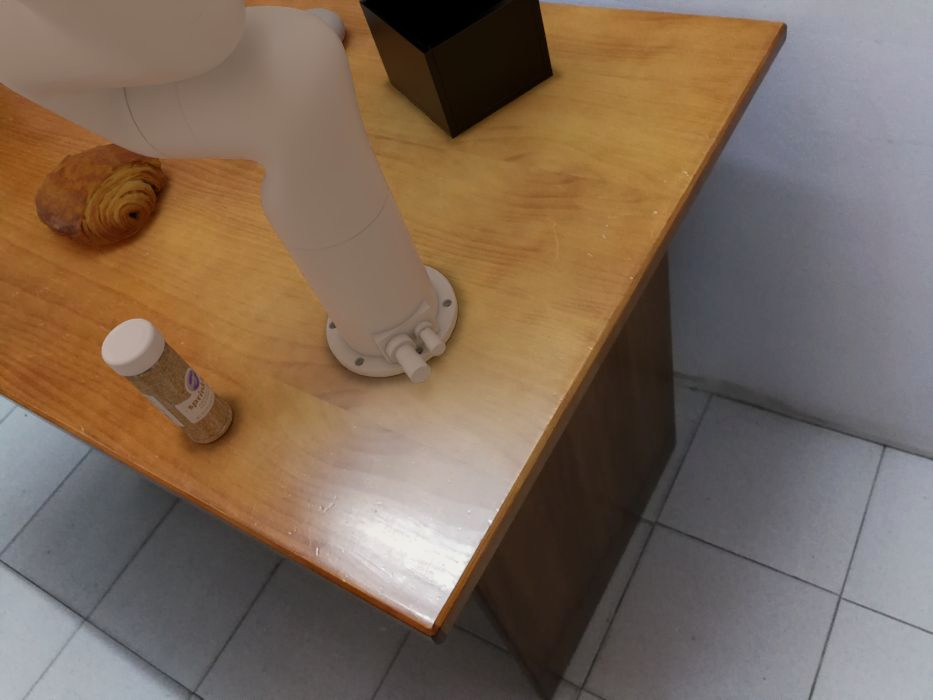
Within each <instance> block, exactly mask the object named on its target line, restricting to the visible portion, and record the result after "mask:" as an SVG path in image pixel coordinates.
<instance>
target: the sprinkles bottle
mask: <svg viewBox="0 0 933 700" xmlns="http://www.w3.org/2000/svg"><path fill="white" fill-rule="evenodd" d="M100 351H101V357H102V359H103V361H104V362H105V364H107V365H108V366H109V368H111V369H112V370H113V371H114V372H115V373H116V374H117V375H118V376H119V375H120V376H121V377H123V378H125V379H126V380H128V381H129V382H130V384H132V385H133V387H135V388H136V389H137V390H138V391H139V392H140V394H142V396H143V397H145V398H146V399H147V400H148V401H149V402H150V403H151V405H153V406H154V407H155V408H156V409H158V411H160V412H161V413H162V414H163V415H164V416H166V417H167V419H169V420H170V421H171V422H172V423H174V424H175V425H176V426H178V427H179V428H180V429H181V430H182V431H183V432H184V433H185V434H186V435H187V437H188V438H189V439H190V440H191V441H192V442H193V443H197V444H210V443H212V442H215V441H216V440H218V439H219V438H220V437H221V438H222V436H223V435H225V433H226V432H227V430H229V427H230V425H231V423H232V421H233V410H232V408H231V406H230V405H229V403H228V402H226V401H224V400H223V399H222V398H221V397H220V396H219V395H218V393H216V392H215V391H214V388H212V387H211V386H210V385H209V383H208V382H207V381H206V380H205V379H204V378H203V377H202V376H201V375H200V374H199V373H198V372H197V371H196V370H195V369H194V368H193V367H191V366H190V365H189V363H187V362H186V361H185V359H184V358H183V357H181V355H180V354H179V353H178V352H177V351H176V350H175V349H174V348H173V347H172V346H171V345H170V344H169V343H168V342H167V341H166V339H165V337H164V335H163V333H161V332H160V330H159V329H158V328H157V327H156V326H155V325H154V324H153V323H152V322H151V321H149V320H147V319H145V318H131V319H128V320H125V321H123V322H121V323H120V324H118V325H117V326H115V327H113V329H112V330H110V332H109V333H108V334H107V335H106V337H105V338H104V340H103V343H102V345H101V350H100Z"/></svg>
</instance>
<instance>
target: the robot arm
mask: <svg viewBox="0 0 933 700" xmlns="http://www.w3.org/2000/svg"><path fill="white" fill-rule="evenodd" d="M0 83H1V85H3V86H5V87H6V88H7V89H10V90H11V91H13V92H14V93H15V94H18V95H20V96H21V97H23V98H25V99H26V100H29V101H30V102H32V103H34V104H36V105H38V106H40V107H42V108H44V109H45V110H47V111H49V112H51V113H54V114H55V115H58V116H59V117H61V118H63V119H65V120H67V121H69V122H71V123H73V124H74V125H77V126H78V127H81V128H82V129H84V130H86V131H88V132H91V133H92V134H94V135H96V136H98V137H100V138H102V139H104V140H106V141H108V142H111V144H113V143H114V144H116V145H118V146H120V147H123V148H125V149H127V150H130V151H132V152H135V153H138V154H141V155H144V156H148V157H153V158H158V159H163V160H213V159H215V160H220V159H223V160H243V161H244V160H245V161H252V162H254V163H257V164H258V165H260V166H261V167H262V168H263V170H264V175H263V178H262V181H261V185H260V191H259V195H260V198H259V200H260V205H261V208H262V211H263V214H264V216H265V218H266V220H267V222H268V223H269V226H270V227H271V229H272V230H273V231H274V233H275V235H276V236H277V238H278V239H279V241H280V242H281V243H282V245H283V247H284V249H285V250H286V252H287V253H288V255H289V256H290V257H291V259H292V261H293V262H294V264H295V265H296V267H297V268H298V270H299V271H300V273H301V274H302V277H303V278H304V280H305V281H306V282H307V284H308V286H309V287H310V289H311V290H312V292H313V293H314V295H315V296H316V299H318V301H319V303H320V305H321V306H322V307H323V309H324V310H325V312H326V314H327V315H328V316H327V319H326V325H325V333H326V334H325V336H326V342H327V345H328V347H329V349H330V351H331V353H332V354H333V356H334V357H335V359H336V360H337V361H338V362H339V363H340V365H341V366H343V367H344V368H346V369H347V370H349V371H350V372H353V373H354V374H357V375H361V376H366V377H369V378H371V377H372V378H386V377H387V378H388V377H392V376H398V375H401V374H403V373H404V374H406V375H407V377H408V378H409V379H410V381H411V383H413V384H416V385H419V384H422V383H424V382H426V381H427V380H428V379H429V378H430V377H431V374H432V368H431V367H430V365H429V364H428V363H427V361H429V360H430V359H431V358H433V357H439V356H441V355H442V354H443V353H445V352H446V349H447V344H446V343H447V342H448V341H449V339H450V338H451V336H452V333H453V331H454V329H455V327H456V325H457V324H456V323H457V319H458V316H459V314H458V313H459V305H458V300H457V295H456V293H455V290H454V289H453V286H452V284H451V282H450V281H449V280H448V279H447V277H446V276H444V275H443V274H442V272H440V271H438V270H437V269H435V268H433V267H431V266H428V265H425V264H424V261H423V260H422V257H421V255H420V253H419V250H418V249H417V246H416V244H415V242H414V240H413V237H412V235H411V233H410V230H409V228H408V226H407V224H406V221H405V219H404V217H403V215H402V213H401V210H400V208H399V206H398V204H397V201H396V199H395V197H394V194H393V192H392V190H391V188H390V185H389V183H388V181H387V179H386V177H385V175H384V172H383V171H382V168H381V166H380V164H379V162H378V160H377V159H378V158H377V157H376V154H375V151H374V149H373V147H372V144H371V142H370V140H369V136H368V133H367V131H366V128H365V124H364V121H363V118H362V115H361V111H360V107H359V103H358V98H357V94H356V89H355V84H354V79H353V75H352V69H351V65H350V62H349V58H348V55H347V52H346V49H345V47H344V44H343V42H341V40H340V38H339V37H338V35H337V34H336V32H335V31H334V30H333V29H332V28H331V27H330V26H329V25H328V24H327V23H326V22H325V21H324V20H322V19H321V18H319V17H318V16H316V15H314V14H312V13H309V12H306V11H304V9H300V8H297V7H291V6H282V5H253V6H246V2H245V0H0Z"/></svg>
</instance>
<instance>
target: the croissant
mask: <svg viewBox="0 0 933 700" xmlns="http://www.w3.org/2000/svg"><path fill="white" fill-rule="evenodd" d="M162 170H163V168H162V161H161V160H160V158H153V157H148V156H144V155H141V154H138V153H135V152H132V151H130V150H127V149H125V148H123V147H120V146H118V145H116V144H114V143H109V144H105V145H97V146H94V147H92V148H88V149H86V150H83V151H81V152H79V153H76V154H72V155H71V154H67V155H66V156H65V157H63V159H62V160H61V161H60V162H59V163H58V164H57V165H56V166H55V167H53V169H52V170H51V171H50V172H48V173H47V174H46V175H45V178H44V179H43V182H42V184H41V186H40V187H38V188H37V192H36V195H35V196H34V203H35V208H36V215H37V217H38V219H39V221H40V222H41V223H42V224H43V225H45V226H47V228H48V229H49V230H50V232H53V233H54V234H56V235H58V236H59V237H65V238H67V239H69V240H71V241H74V242H79V243H81V244H84V245H96V246H97V245H98V246H105V245H112V244H115V243H117V242H119V241H121V240H125V239H128V238H131V237H133V236H135V234H136V233H138V232H139V231H140V230H141V229H142V228H143V227H144V225H145V224H146V222H147V221H148V220H149V217H150V215H151V213H153V212H154V211H155V210H156V202H157V200H159V199H160V198H161V197H162V195H163V194H164V192H163V191H164V190H165V185H166V184H165V183H166V181H165V176H164V175H163V172H162Z"/></svg>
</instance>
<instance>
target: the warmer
mask: <svg viewBox="0 0 933 700" xmlns="http://www.w3.org/2000/svg"><path fill="white" fill-rule="evenodd" d="M358 3H359V6H360V8H361V10H362V13H363V16H364V18H365V21H366V23H367V26H368V29H369V32H370V34H371V37H372V39H373V41H374V44H375V47H376V50H377V52H378V55H379V56H380V60H381V63H382V65H383V68H384V70H385V72H386V75H387V77H388V80H389V83H390V84H391V85H392V86H393V87H394V88H395V89H396V90H397V91H398V92H399V93H401V95H403V96H404V97H405V98H407V100H409V101H410V102H411V103H412V104H413V105H414V106H416V108H418V109H419V110H420V111H421V112H422V113H423V114H424V115H426V117H428V118H429V119H430V120H431V121H432V122H433V123H434V124H436V125H437V126H438V127H439V128H440V129H441V130H442V131H443V132H444V133H446V135H448V136H449V137H450V138H451V139H454V138H456V137H458V136H460V135H461V134H463V133H464V132H465V131H467V130H469V129H470V128H471V127H474V126H475V125H477V124H478V123H480V122H481V121H483V120H484V119H486V118H487V117H489V116H491V115H493V114H495V113H496V112H497V111H499V110H500V109H502V108H503V107H506V106H507V105H508V104H510V103H512V102H513V101H514V100H516V99H518V98H519V97H521V96H522V95H524V94H525V93H527V92H529V91H530V90H532V89H534V88H535V87H537V86H538V85H540V84H542V83H543V82H545V81H546V80H548V79H549V78H551V77H553V75H554V72H553V68H552V61H551V58H550V51H549V46H548V41H547V35H546V31H545V25H544V20H543V15H542V9H541V4H540V0H361V1H359V0H358Z"/></svg>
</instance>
